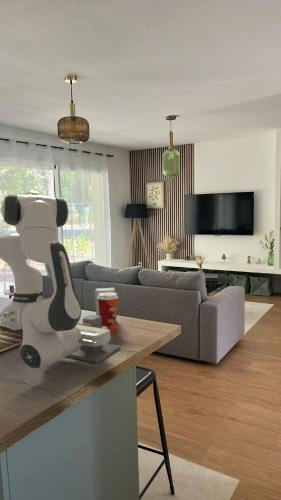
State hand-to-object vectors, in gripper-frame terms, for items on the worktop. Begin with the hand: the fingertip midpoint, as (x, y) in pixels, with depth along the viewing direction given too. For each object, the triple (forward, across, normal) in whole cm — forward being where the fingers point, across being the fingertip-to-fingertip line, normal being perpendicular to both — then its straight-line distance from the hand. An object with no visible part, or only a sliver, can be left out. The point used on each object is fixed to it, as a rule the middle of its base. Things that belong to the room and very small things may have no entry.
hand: (94, 326), depth 123 cm
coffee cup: (+21, +8, +9) cm, 24 cm away
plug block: (-1, 0, +8) cm, 8 cm away
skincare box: (+30, +15, +9) cm, 35 cm away
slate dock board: (-1, 0, +8) cm, 9 cm away
